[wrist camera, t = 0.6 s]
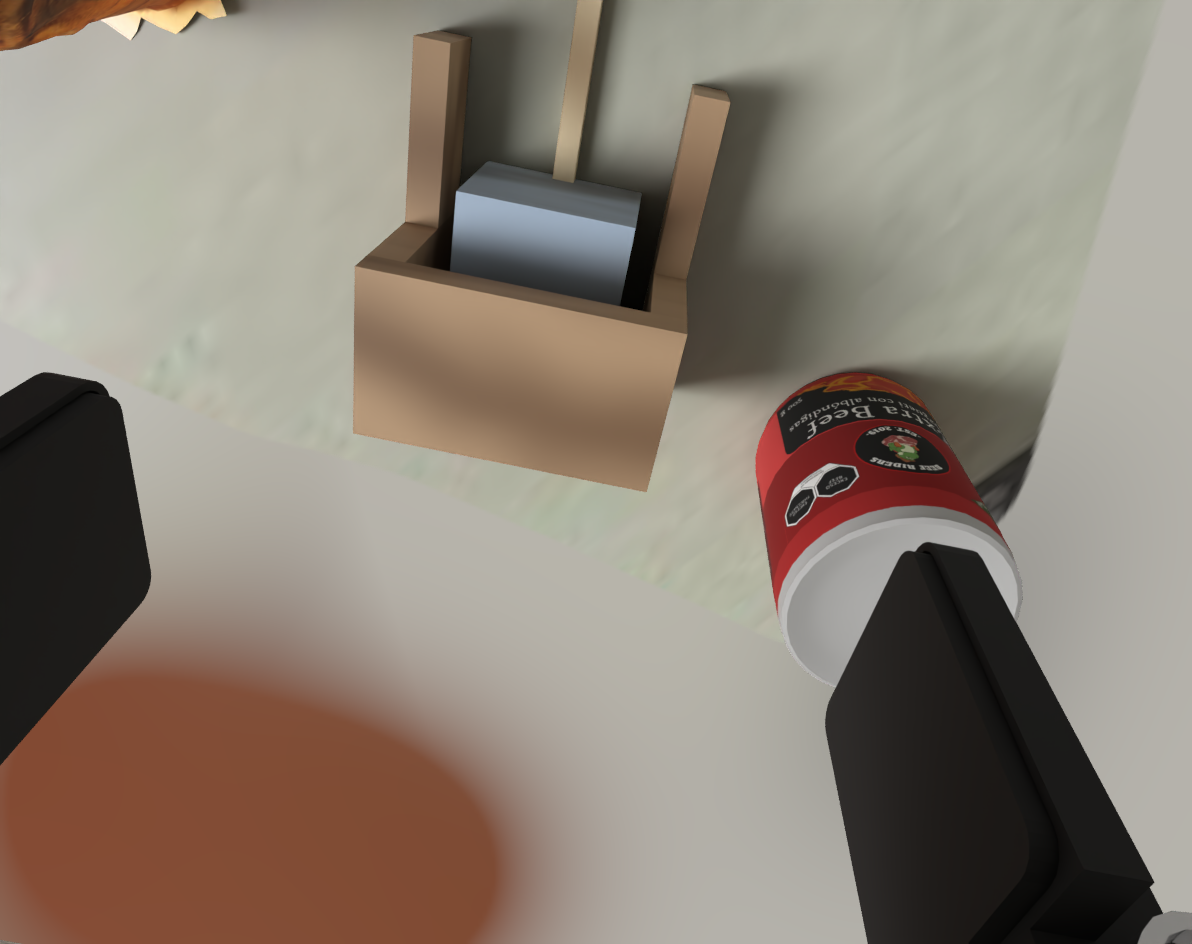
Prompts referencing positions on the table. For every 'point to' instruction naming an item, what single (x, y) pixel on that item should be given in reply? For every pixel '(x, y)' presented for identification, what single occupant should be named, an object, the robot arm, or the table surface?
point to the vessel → (93, 17)
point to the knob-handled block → (550, 206)
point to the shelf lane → (518, 316)
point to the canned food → (860, 509)
